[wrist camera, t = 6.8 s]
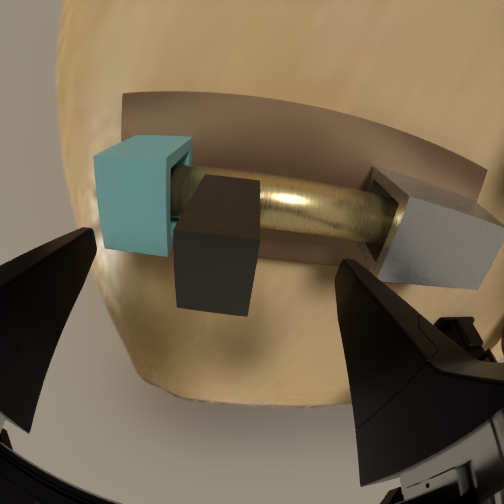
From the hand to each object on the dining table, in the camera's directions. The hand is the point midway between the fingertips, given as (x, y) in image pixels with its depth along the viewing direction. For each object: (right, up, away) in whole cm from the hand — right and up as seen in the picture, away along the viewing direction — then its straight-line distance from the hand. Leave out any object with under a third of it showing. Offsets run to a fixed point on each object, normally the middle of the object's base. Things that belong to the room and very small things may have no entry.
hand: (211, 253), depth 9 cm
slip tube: (+3, +3, +6) cm, 7 cm away
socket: (-4, +5, +6) cm, 9 cm away
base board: (+6, +4, +8) cm, 10 cm away
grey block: (+13, +3, +7) cm, 15 cm away
